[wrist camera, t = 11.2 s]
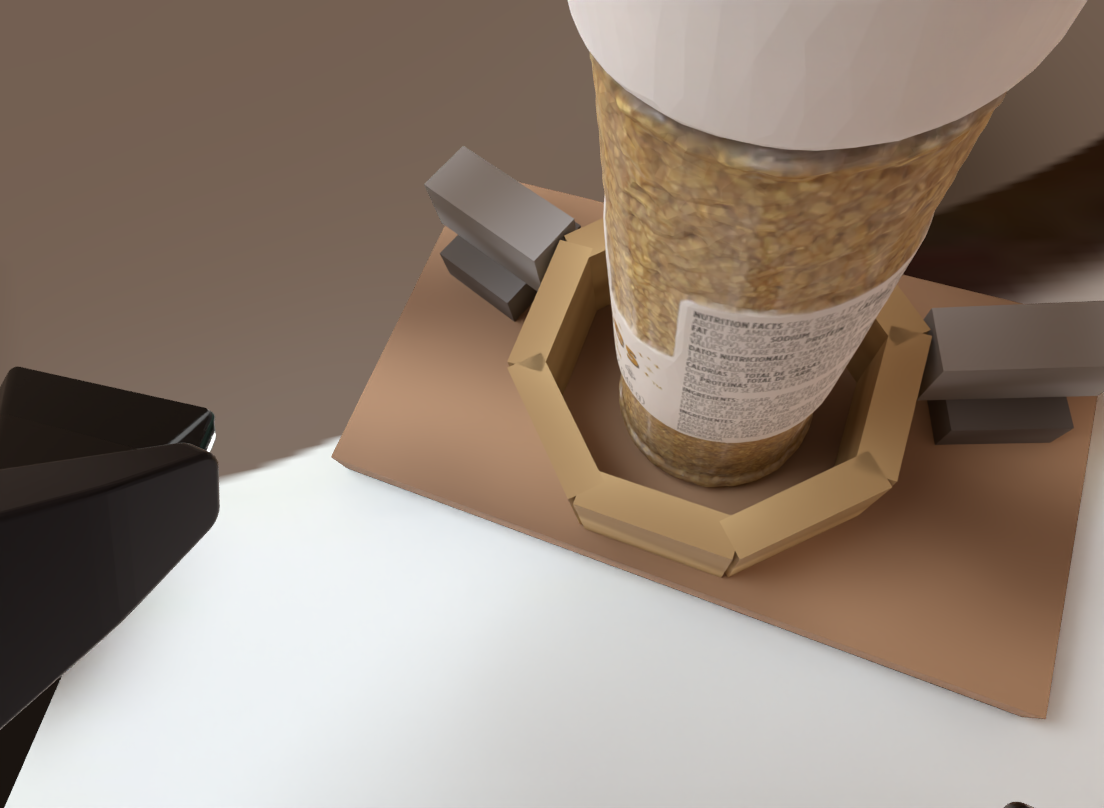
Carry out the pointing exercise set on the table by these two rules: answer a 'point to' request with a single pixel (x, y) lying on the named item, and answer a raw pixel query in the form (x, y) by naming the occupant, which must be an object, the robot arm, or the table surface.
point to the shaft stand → (778, 498)
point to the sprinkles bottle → (776, 194)
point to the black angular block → (66, 433)
